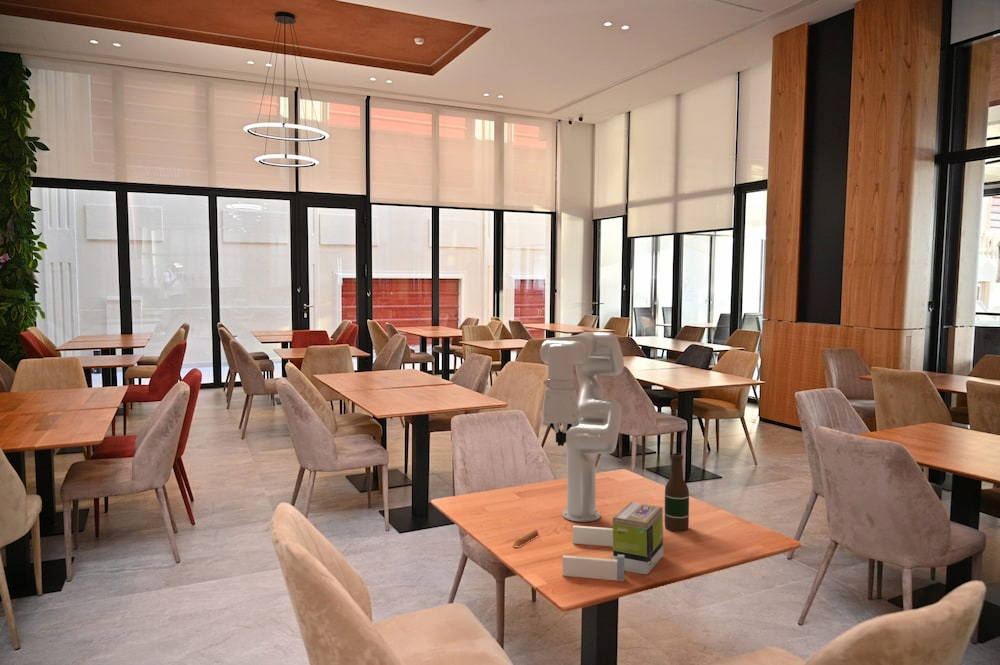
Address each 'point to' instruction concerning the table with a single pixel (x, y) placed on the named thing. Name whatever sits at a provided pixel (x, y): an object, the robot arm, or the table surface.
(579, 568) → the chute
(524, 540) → the chocolate bar
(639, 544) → the tea box
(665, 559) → the table surface
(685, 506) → the beer bottle
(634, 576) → the table surface
